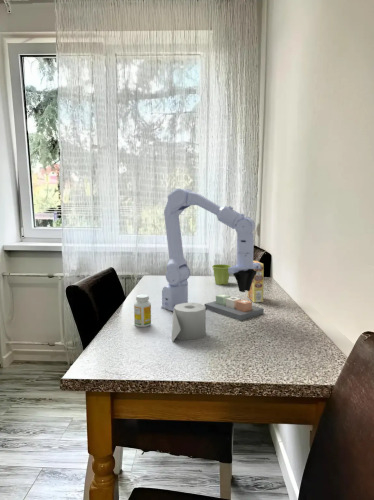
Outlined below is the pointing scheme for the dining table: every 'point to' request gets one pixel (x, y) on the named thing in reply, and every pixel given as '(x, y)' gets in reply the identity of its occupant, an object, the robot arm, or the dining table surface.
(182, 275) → the robot arm
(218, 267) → the plant pot
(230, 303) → the key ivory
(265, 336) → the dining table surface
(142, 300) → the supplement bottle
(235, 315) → the keypad
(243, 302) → the key peach
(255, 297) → the candy box
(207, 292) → the dining table surface
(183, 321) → the toilet tissue
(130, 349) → the dining table surface
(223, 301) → the key sage
